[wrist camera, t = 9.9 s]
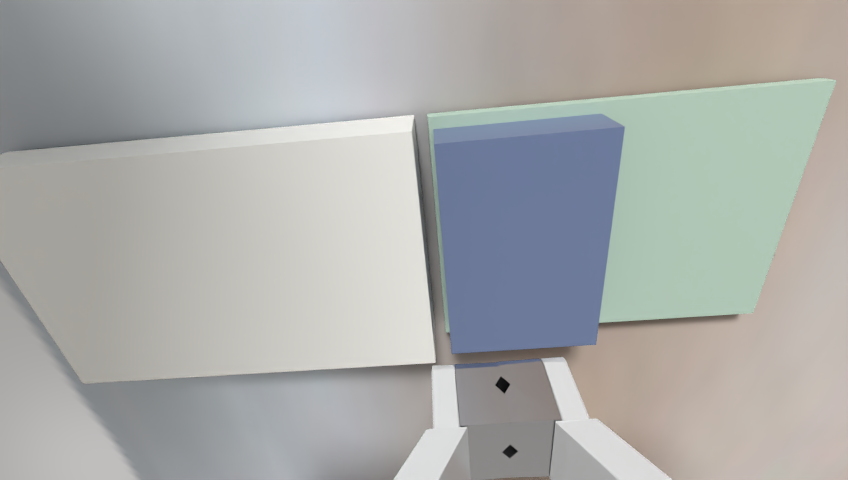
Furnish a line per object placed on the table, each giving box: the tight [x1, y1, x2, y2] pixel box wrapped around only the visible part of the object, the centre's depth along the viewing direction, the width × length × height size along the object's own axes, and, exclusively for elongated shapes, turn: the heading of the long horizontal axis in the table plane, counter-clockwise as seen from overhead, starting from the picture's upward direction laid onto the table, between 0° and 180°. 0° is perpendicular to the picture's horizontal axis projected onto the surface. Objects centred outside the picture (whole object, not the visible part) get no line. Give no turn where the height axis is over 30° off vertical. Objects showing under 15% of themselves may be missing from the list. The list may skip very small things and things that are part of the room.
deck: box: [0, 115, 436, 384], centre depth 17 cm, size 10×16×2 cm, turn 95°
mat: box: [427, 78, 836, 333], centre depth 17 cm, size 10×14×1 cm
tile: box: [433, 114, 625, 354], centre depth 16 cm, size 9×6×2 cm, turn 6°
